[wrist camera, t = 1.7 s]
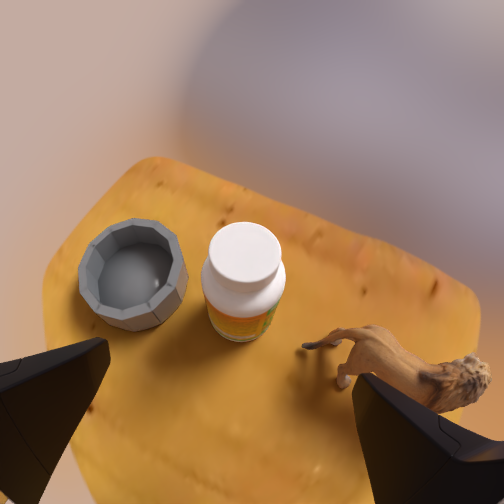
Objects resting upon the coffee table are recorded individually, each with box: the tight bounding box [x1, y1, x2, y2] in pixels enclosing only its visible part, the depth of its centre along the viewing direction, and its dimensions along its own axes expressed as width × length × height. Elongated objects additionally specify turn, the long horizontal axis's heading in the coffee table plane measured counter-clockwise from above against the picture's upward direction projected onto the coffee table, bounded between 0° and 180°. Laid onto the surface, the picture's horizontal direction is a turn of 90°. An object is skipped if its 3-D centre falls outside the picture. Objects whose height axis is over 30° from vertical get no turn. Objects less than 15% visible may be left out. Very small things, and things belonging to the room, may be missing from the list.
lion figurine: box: [302, 325, 492, 414], centre depth 16 cm, size 15×5×9 cm, turn 63°
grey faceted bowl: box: [78, 218, 189, 332], centre depth 22 cm, size 10×10×3 cm
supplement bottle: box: [201, 222, 286, 342], centre depth 19 cm, size 5×5×10 cm
